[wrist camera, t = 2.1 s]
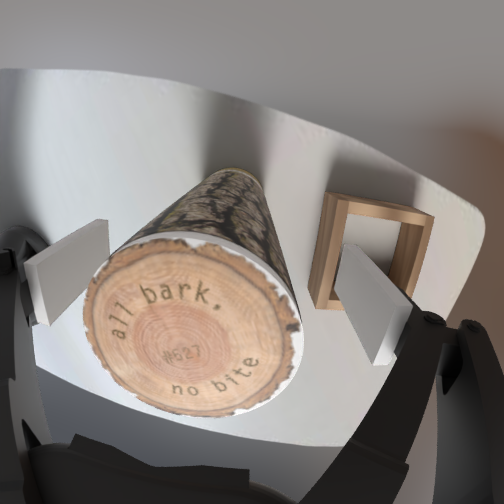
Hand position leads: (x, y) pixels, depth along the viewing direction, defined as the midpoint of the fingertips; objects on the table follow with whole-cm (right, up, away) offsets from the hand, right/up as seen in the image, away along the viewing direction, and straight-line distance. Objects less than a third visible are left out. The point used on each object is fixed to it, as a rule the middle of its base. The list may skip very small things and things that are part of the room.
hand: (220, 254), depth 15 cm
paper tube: (-1, +6, +16) cm, 17 cm away
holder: (+15, +1, +18) cm, 24 cm away
